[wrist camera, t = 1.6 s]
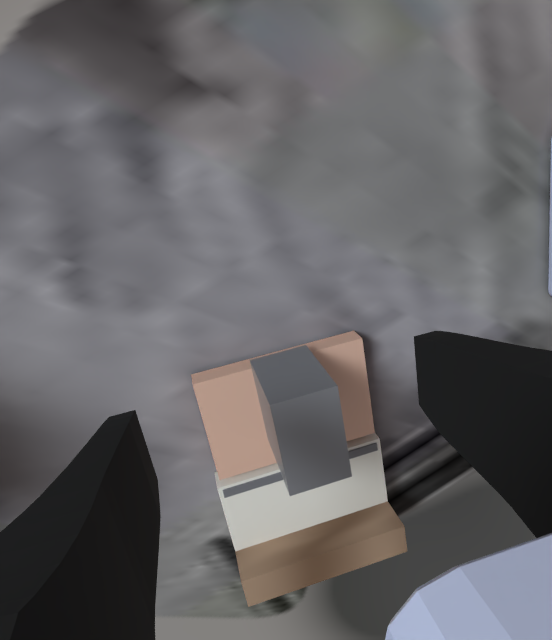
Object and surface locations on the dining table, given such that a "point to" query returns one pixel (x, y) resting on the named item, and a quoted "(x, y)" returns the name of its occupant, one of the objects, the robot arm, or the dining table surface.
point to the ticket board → (310, 524)
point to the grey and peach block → (289, 411)
